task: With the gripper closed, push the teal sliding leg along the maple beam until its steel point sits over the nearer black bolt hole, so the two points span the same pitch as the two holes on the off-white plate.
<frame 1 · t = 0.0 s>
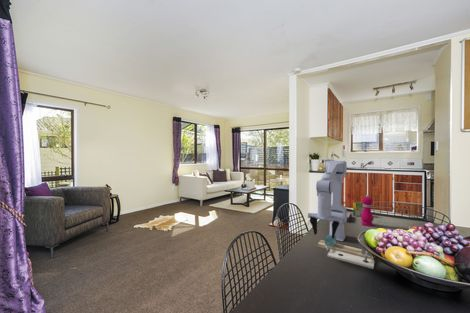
hand: (324, 235, 98), 10 cm above the table, tool pointing down, fingers open, 7 cm apart
bolt plate: (350, 259, 97), on the table
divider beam: (343, 250, 106), on the table
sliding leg: (329, 242, 107), point 3 cm above the table, slide at 0.0 cm
pepper mill: (366, 225, 142), on the table
crayon box: (358, 215, 163), on the table
calculator: (341, 219, 156), on the table
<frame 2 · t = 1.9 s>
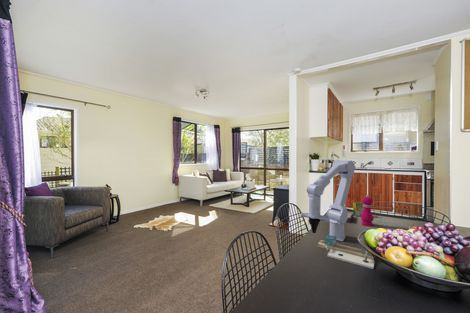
hand: (314, 232, 114), 6 cm above the table, tool pointing down, fingers closed
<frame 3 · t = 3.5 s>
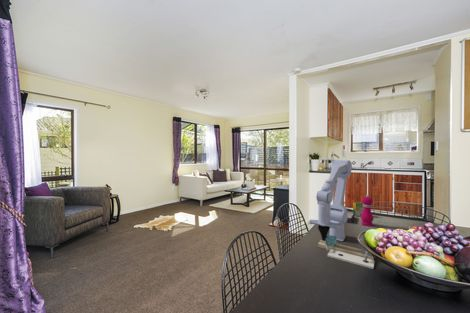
hand: (324, 240, 111), 3 cm above the table, tool pointing down, fingers closed
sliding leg: (329, 242, 107), point 3 cm above the table, slide at 0.2 cm, touching gripper
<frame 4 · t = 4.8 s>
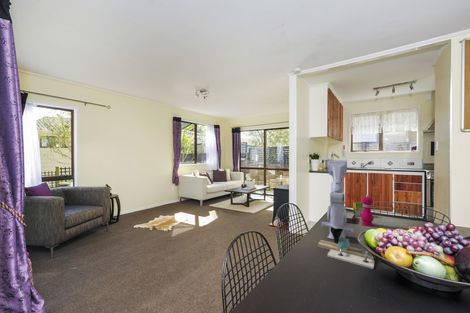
hand: (336, 243, 107), 3 cm above the table, tool pointing down, fingers closed
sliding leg: (342, 246, 103), point 3 cm above the table, slide at 6.2 cm, touching gripper
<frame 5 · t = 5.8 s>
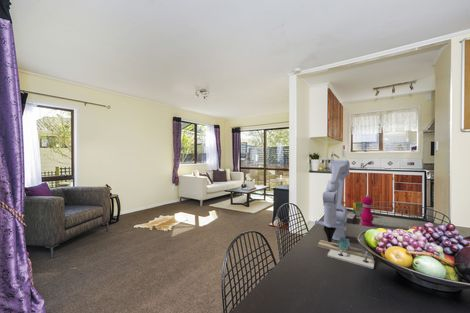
hand: (329, 241, 109), 3 cm above the table, tool pointing down, fingers closed
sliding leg: (343, 246, 103), point 3 cm above the table, slide at 6.3 cm
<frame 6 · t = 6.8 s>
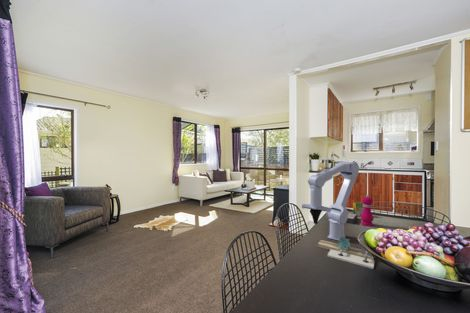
hand: (315, 223, 114), 10 cm above the table, tool pointing down, fingers closed
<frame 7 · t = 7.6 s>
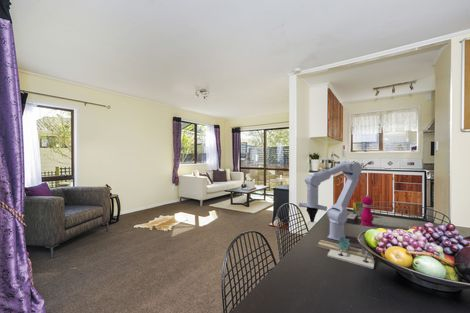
hand: (312, 221, 117), 10 cm above the table, tool pointing down, fingers closed
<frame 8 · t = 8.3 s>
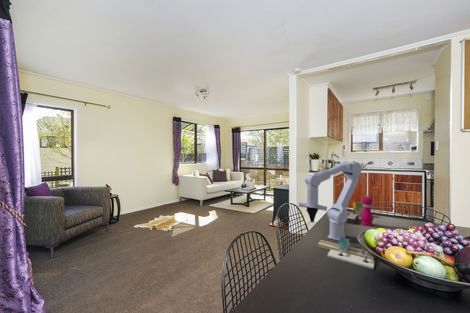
hand: (312, 221, 117), 10 cm above the table, tool pointing down, fingers closed
at the end: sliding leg slide at 6.3 cm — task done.
